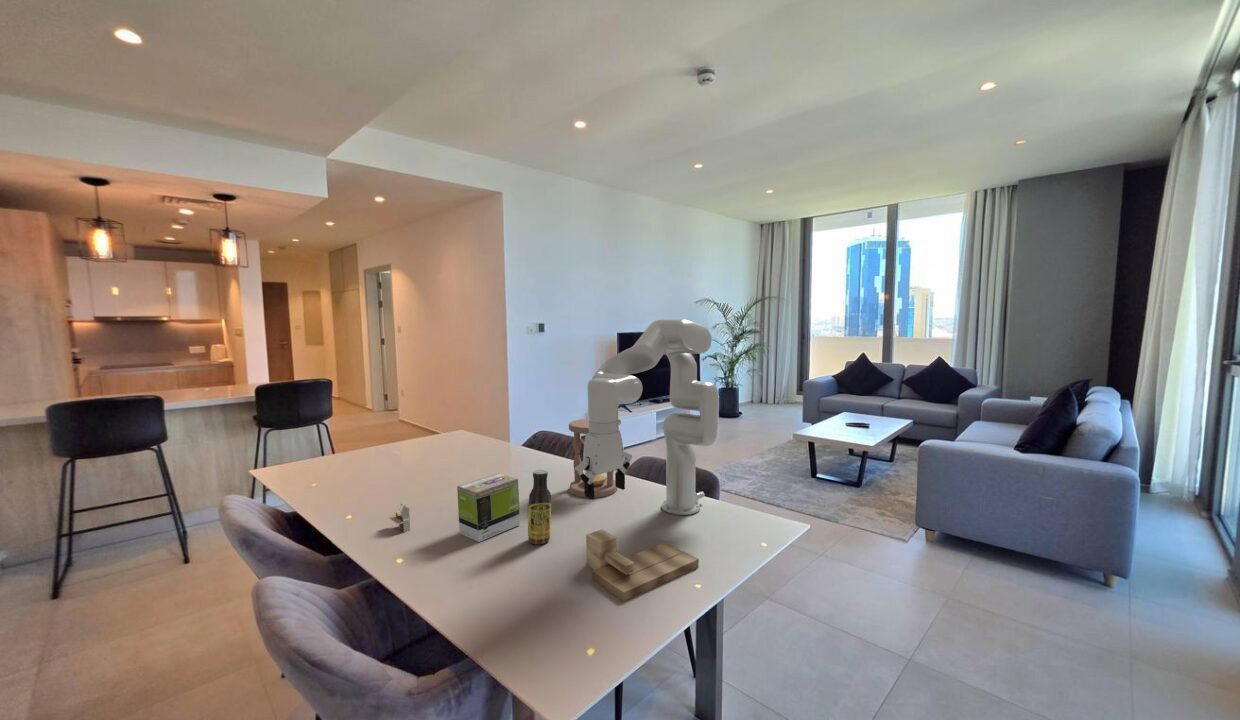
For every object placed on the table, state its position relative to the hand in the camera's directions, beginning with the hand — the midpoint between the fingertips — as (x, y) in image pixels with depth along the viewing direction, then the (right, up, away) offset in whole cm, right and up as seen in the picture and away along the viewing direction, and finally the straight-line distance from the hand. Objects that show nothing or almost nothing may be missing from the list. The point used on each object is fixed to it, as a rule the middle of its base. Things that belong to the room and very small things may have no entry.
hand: (605, 492), depth 122 cm
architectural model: (-61, -18, +21) cm, 67 cm away
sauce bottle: (-19, -17, +13) cm, 29 cm away
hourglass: (-6, -14, +55) cm, 57 cm away
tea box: (-35, -17, +20) cm, 44 cm away
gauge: (+2, -18, -5) cm, 19 cm away
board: (+10, -18, -5) cm, 21 cm away
